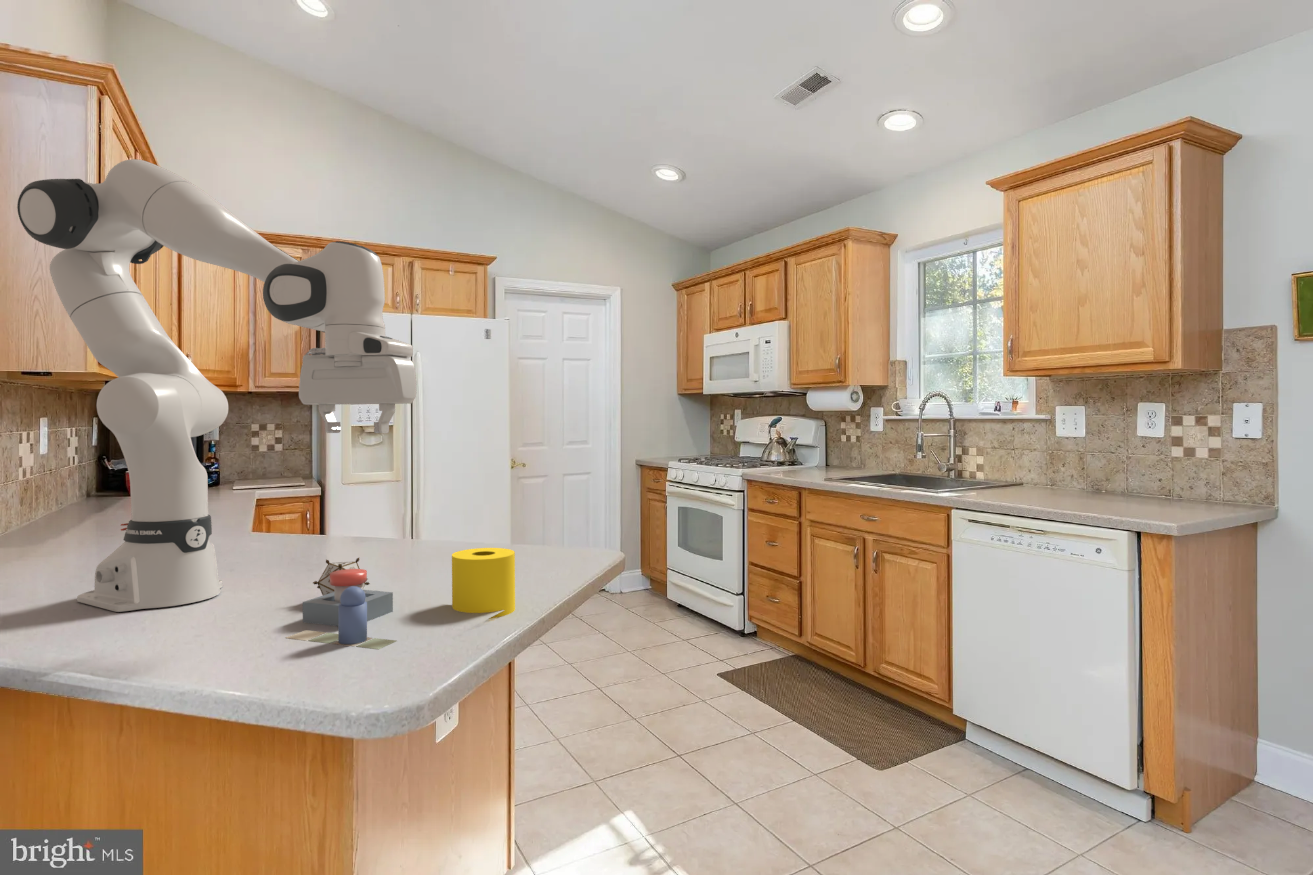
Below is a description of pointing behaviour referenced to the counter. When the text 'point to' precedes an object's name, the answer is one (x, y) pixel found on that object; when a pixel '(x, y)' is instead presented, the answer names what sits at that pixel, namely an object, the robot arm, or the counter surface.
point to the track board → (333, 637)
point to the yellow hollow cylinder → (484, 581)
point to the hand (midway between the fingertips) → (356, 433)
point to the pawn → (352, 616)
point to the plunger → (347, 580)
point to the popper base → (327, 607)
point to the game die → (331, 567)
